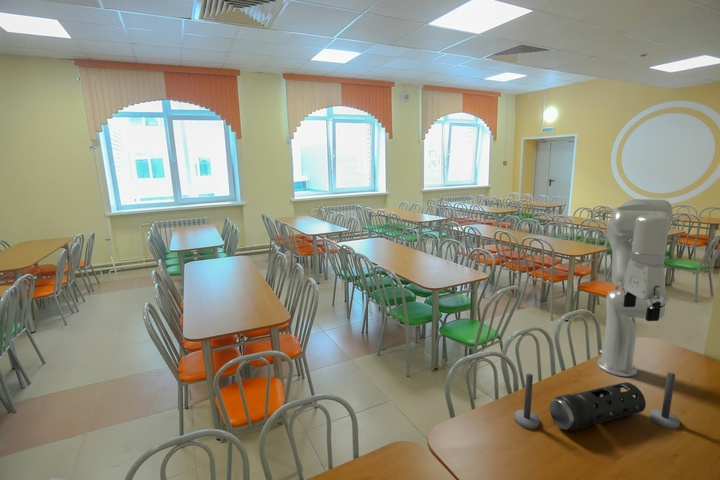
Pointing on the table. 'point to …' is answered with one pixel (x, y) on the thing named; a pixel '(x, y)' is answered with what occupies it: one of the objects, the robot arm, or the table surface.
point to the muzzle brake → (596, 406)
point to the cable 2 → (666, 407)
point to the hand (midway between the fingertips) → (640, 313)
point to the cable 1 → (527, 408)
